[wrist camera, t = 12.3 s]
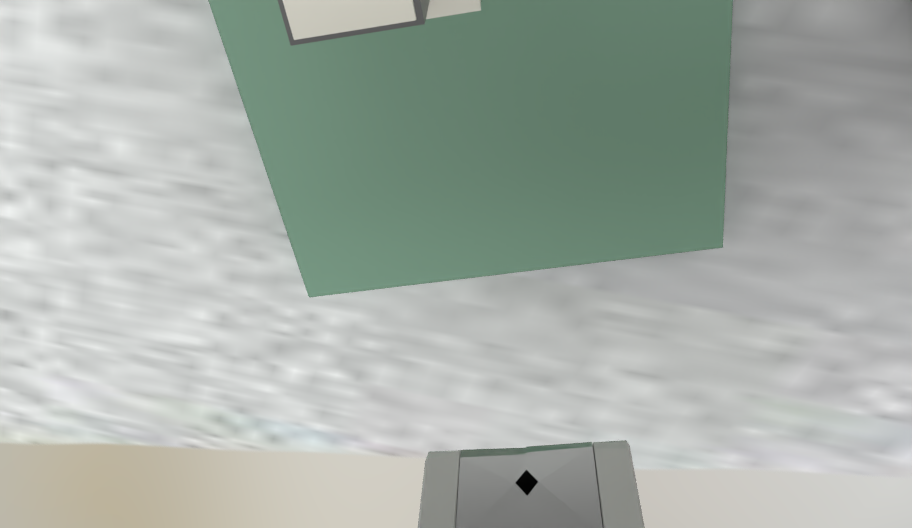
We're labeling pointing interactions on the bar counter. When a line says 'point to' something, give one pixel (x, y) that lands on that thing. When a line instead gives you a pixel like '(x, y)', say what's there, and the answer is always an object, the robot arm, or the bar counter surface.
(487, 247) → the board
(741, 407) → the bar counter surface
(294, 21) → the plug
